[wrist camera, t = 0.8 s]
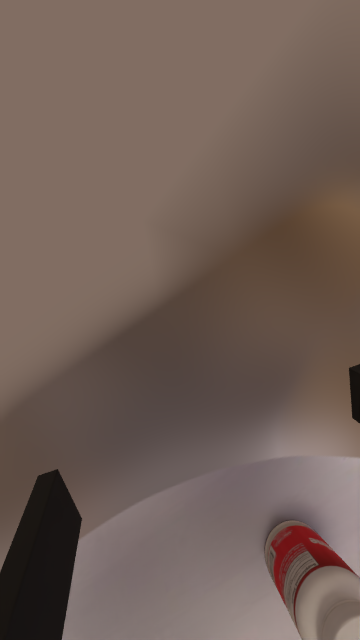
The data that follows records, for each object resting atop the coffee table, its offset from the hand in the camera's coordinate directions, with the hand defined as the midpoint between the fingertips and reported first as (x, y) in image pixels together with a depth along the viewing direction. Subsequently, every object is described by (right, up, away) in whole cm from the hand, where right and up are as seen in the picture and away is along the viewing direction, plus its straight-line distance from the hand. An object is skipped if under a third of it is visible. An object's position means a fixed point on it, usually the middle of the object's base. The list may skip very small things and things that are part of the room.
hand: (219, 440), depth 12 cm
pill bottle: (+10, -18, +16) cm, 26 cm away
